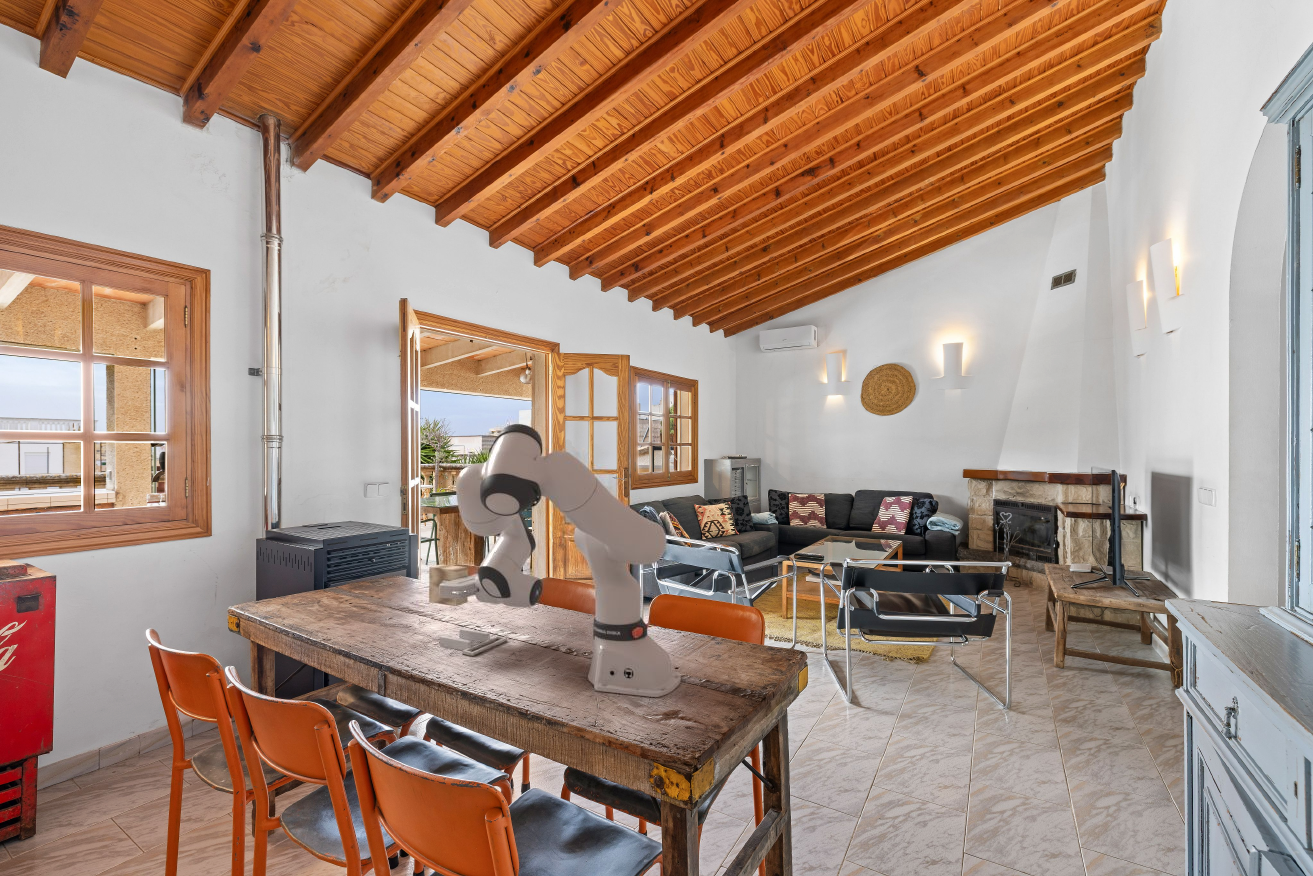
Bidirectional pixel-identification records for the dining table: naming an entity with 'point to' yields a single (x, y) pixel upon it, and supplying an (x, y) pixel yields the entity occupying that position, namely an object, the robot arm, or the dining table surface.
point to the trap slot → (484, 646)
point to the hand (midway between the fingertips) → (451, 581)
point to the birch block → (442, 574)
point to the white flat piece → (464, 644)
